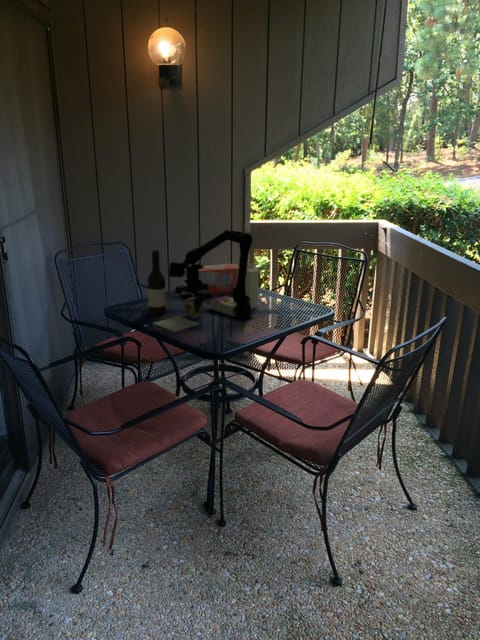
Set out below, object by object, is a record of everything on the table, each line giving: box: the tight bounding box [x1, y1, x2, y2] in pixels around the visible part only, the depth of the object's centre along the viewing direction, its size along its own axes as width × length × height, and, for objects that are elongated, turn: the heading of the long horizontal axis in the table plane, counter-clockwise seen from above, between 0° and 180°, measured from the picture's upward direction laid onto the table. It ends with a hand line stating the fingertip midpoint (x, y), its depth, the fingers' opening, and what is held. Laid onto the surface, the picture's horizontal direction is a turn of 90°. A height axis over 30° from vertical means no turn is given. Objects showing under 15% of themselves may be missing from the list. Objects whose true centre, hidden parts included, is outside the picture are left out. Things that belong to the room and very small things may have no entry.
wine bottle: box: [147, 249, 167, 317], centre depth 228 cm, size 8×8×30 cm
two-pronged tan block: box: [183, 296, 203, 318], centre depth 228 cm, size 6×6×7 cm
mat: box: [152, 315, 199, 333], centre depth 218 cm, size 14×14×1 cm
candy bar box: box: [209, 295, 237, 318], centre depth 238 cm, size 11×5×16 cm
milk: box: [245, 262, 260, 310], centre depth 241 cm, size 6×6×22 cm
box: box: [199, 263, 239, 295], centre depth 270 cm, size 27×13×14 cm, turn 116°
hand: (193, 310), depth 229 cm, fingers closed on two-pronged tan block, 6 cm apart
